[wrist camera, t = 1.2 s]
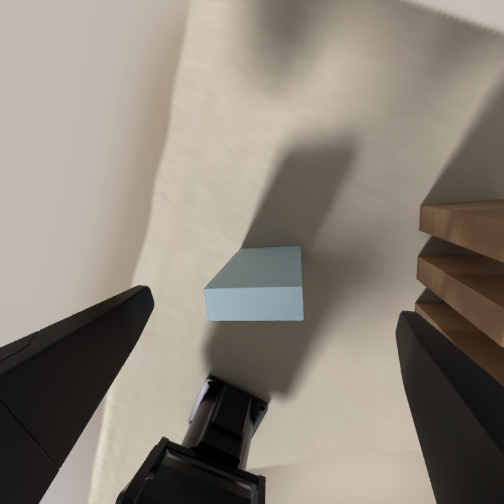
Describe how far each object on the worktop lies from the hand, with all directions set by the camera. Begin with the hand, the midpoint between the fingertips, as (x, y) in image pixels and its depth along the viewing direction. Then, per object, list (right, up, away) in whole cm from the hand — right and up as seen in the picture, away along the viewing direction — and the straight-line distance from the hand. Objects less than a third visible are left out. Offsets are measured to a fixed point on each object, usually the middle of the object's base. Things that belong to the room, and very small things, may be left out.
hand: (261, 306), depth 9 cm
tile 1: (+1, +1, +13) cm, 13 cm away
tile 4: (+15, +1, +10) cm, 18 cm away
